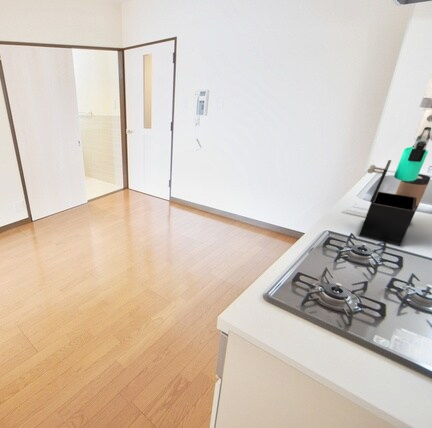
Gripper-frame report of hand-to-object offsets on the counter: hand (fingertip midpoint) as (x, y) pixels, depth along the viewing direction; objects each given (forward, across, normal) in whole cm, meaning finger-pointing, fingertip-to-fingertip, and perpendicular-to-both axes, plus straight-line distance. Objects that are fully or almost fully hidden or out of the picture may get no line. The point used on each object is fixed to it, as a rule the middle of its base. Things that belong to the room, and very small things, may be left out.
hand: (414, 158), depth 97 cm
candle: (+8, +2, 0) cm, 8 cm away
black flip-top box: (+30, 0, +1) cm, 30 cm away
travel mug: (+30, +16, -3) cm, 34 cm away
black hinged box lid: (+9, 0, +6) cm, 11 cm away
